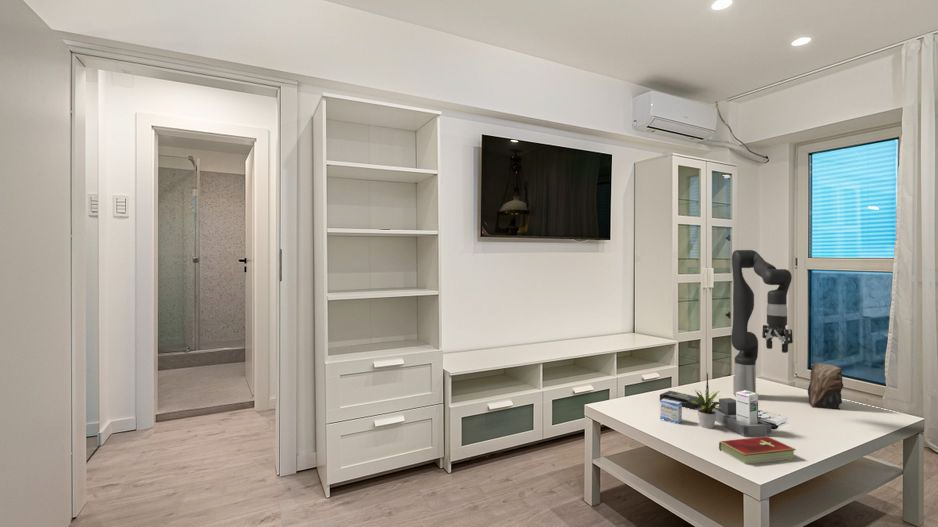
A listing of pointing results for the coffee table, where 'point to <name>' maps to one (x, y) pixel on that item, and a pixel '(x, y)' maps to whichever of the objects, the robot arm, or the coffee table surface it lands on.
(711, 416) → the house plant
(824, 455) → the coffee table surface
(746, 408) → the syrup box
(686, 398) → the black wifi router
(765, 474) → the coffee table surface
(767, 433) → the grey desk organizer
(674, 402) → the medicine box
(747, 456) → the hardcover book
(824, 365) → the brown rock
